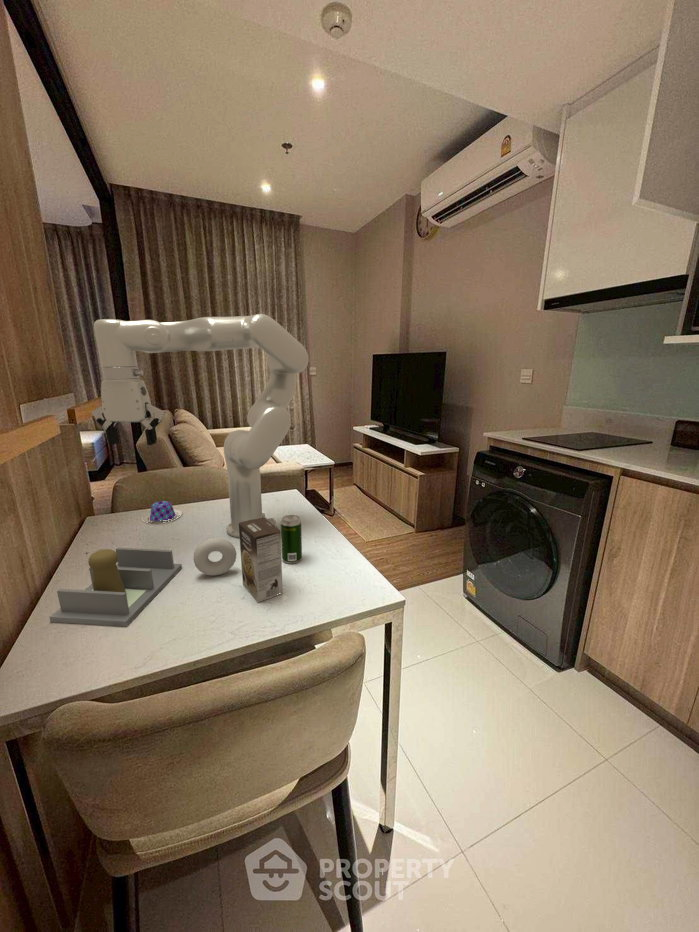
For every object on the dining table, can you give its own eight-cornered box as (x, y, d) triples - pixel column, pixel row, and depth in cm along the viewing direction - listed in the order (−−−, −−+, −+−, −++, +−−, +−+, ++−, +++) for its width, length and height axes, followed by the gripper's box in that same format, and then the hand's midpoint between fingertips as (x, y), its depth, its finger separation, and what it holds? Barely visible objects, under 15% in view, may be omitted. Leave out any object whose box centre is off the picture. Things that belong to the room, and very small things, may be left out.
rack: (182, 568, 95) (179, 546, 93) (126, 626, 74) (122, 600, 72) (122, 565, 96) (118, 543, 94) (50, 622, 75) (44, 596, 73)
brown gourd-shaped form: (110, 608, 77) (101, 561, 74) (86, 604, 78) (76, 557, 75) (132, 591, 83) (125, 547, 80) (110, 587, 84) (102, 543, 81)
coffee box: (241, 584, 88) (237, 522, 84) (266, 575, 92) (263, 515, 88) (257, 604, 82) (253, 537, 77) (283, 593, 85) (281, 529, 81)
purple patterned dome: (151, 511, 131) (149, 497, 129) (187, 510, 132) (185, 497, 131) (136, 526, 119) (134, 510, 118) (175, 525, 120) (173, 510, 119)
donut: (195, 581, 89) (191, 544, 87) (195, 574, 92) (191, 537, 90) (238, 574, 92) (235, 538, 90) (237, 567, 96) (234, 532, 93)
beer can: (304, 562, 99) (303, 521, 95) (283, 566, 97) (282, 523, 94) (299, 553, 103) (298, 513, 100) (280, 556, 102) (278, 515, 98)
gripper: (164, 373, 93) (174, 441, 97) (96, 374, 93) (109, 441, 98) (148, 375, 85) (159, 447, 90) (74, 375, 86) (89, 447, 90)
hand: (133, 444), depth 94 cm, fingers open, 9 cm apart
